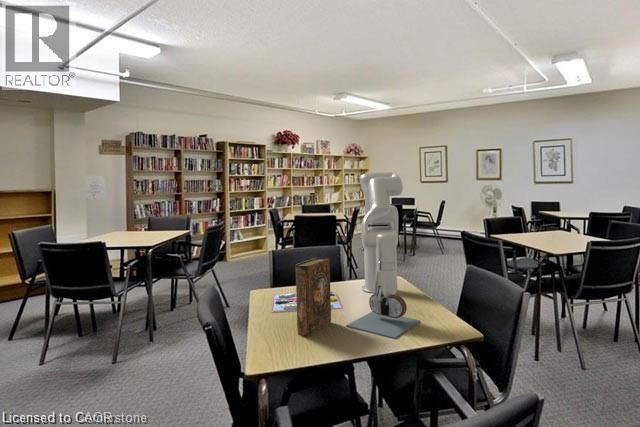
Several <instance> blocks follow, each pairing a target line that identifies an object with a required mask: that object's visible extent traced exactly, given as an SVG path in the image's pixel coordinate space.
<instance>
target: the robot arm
mask: <svg viewBox="0 0 640 427" xmlns="http://www.w3.org/2000/svg"><path fill="white" fill-rule="evenodd" d="M359 184H360V188H361V190H362V193H363V195H364V216H363V219H362V221H361V226H360V235H361V243H362V244H361V245H362V246H363V255H364V256H363V258H364V264H363V265H364V285H362V286H361V290H362V291H363V292H366V293H371V294H375V296H378V298H377V300H378V301H380V304H381V314H383V315H387V316H388V315H389V305H388V297H389V296H391V295H397V292H398V274H397V270H398V265H397V263H398V262H397V260H398V259H397V254H398V253H397V246H398V244H399V211H398V208H397V207H396V206H395V205H393V204H391V199H390V197H397V196H398V197H399V196H401V194H402V193H403V187H404V186H403V181H402V179H401V177H400V175H399V174H397V172H393V171H391V172H387V171H386V172H366V173H362V174H361V175H360V176H359ZM369 225H370V226H369ZM371 225H372V226H371ZM385 225H386V226H385ZM383 295H384V296H383ZM383 298H385V299H383Z"/></svg>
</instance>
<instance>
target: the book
mask: <svg viewBox="0 0 640 427" xmlns="http://www.w3.org/2000/svg"><path fill="white" fill-rule="evenodd" d="M330 263H331V262H330V258H319V257H313V258H310V259H308V260H305V261H302V262H300V263H299V262H298V263H295V291H296V292H295V294H296V298H297V311H296V316H297V317H296V323H297V324H296V325H297V327H296V328H297V335H298V336H301V337H307V338H308V337H311V336H313V335H314V334H316V333H317V332H319V331H320V330H322V329H323V328H324V327H326V326H328V325H329V324H330V323H331V321H332V309H331V295H330V292H331V266H330V265H331V264H330Z"/></svg>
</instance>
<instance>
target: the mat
mask: <svg viewBox="0 0 640 427" xmlns="http://www.w3.org/2000/svg"><path fill="white" fill-rule="evenodd" d="M420 322H421V320H420V319H417V318H416V319H415V318H412V317H411V318H410V317H406V316H401V317H399V318H392V317H387V316H383V315H379V314H376V313H374V312H373V311H372V310H371V311H370V312H369V313H367V314H365V315H363V316H361V317H359V318H358V319H356V320H354V321H352V322H349V323H348V324H346V327H347V328H350V329H354V330H358V331H362V332H365V333H370V334H373V335H377V336H381V337H385V338H389V339H393V340H396V339H398V338H399V337H401V335H403V334H405V333H406V332H407V331H409V330H410V329H412V328H413V327H414V326H416V325H417V324H419V323H420Z"/></svg>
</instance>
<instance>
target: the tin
mask: <svg viewBox="0 0 640 427" xmlns="http://www.w3.org/2000/svg"><path fill="white" fill-rule="evenodd" d="M383 296H384V295H383ZM377 298H378V296H375V293H372V295H370V297H369V300H368V303H369V304H368V305H369V308H370V310H371V312H372V311H373V312H374V313H376V314H379V315H383V314H381V304H380V301H378V300H377ZM383 299H385V298H383ZM388 305H389V315H388V316H387V315H383V316H387V317H392V318H399V317H401V316H402V317H404V315H406V312H407V308H408V307H407V303H406V300H404V298H403V297H402V296H400V295H397V294H395V295H391V296H389V297H388Z"/></svg>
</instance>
